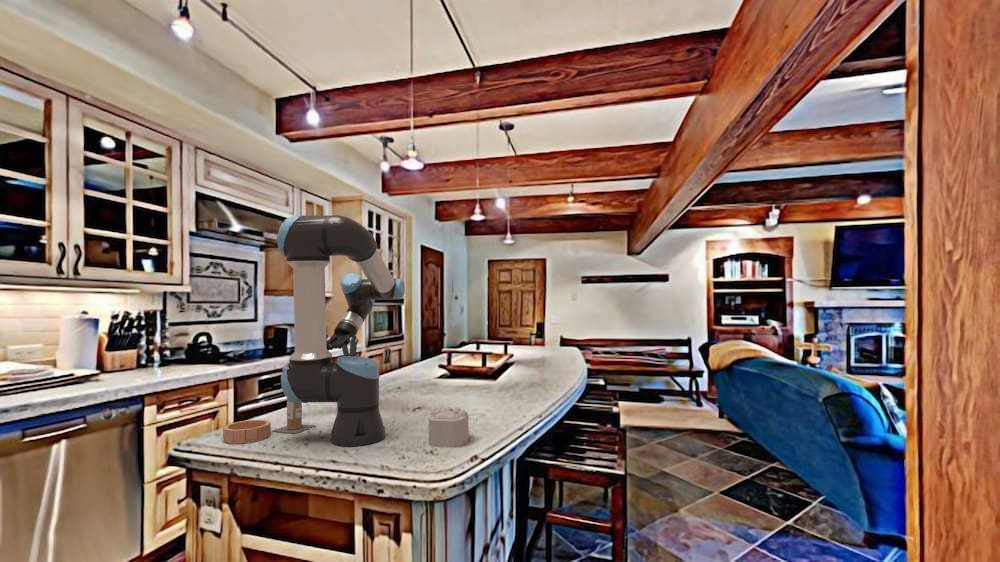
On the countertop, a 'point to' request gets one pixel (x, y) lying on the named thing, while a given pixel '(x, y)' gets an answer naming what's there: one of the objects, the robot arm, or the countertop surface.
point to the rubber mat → (284, 429)
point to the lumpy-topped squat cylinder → (448, 428)
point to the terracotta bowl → (246, 431)
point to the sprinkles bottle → (294, 415)
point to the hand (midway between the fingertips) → (318, 374)
